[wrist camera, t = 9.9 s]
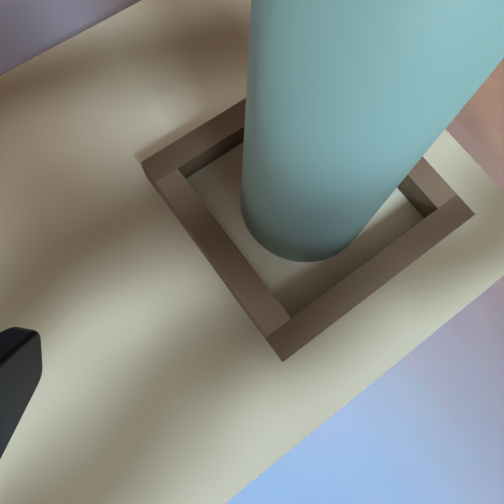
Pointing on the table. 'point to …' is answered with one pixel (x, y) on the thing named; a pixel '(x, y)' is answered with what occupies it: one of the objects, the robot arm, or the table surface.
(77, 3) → the table surface
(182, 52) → the base board
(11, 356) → the robot arm
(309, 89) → the post
